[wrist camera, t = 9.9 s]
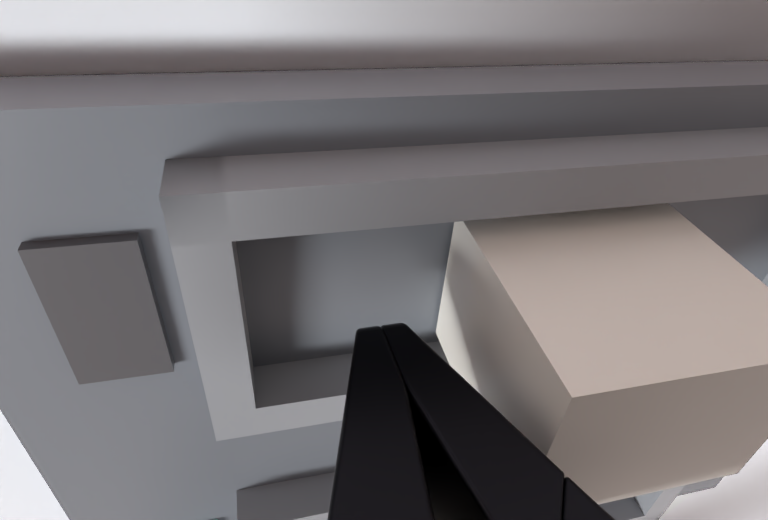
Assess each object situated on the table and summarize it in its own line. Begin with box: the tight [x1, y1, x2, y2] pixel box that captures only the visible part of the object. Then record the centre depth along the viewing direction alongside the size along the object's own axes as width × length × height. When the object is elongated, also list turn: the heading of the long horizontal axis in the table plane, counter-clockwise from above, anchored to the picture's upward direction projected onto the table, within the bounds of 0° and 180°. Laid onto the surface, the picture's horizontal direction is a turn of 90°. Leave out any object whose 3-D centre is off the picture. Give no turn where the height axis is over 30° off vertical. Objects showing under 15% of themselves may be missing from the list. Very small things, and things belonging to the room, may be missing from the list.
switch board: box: [0, 60, 768, 520], centre depth 14 cm, size 16×21×2 cm
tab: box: [436, 203, 768, 505], centre depth 9 cm, size 3×4×4 cm
